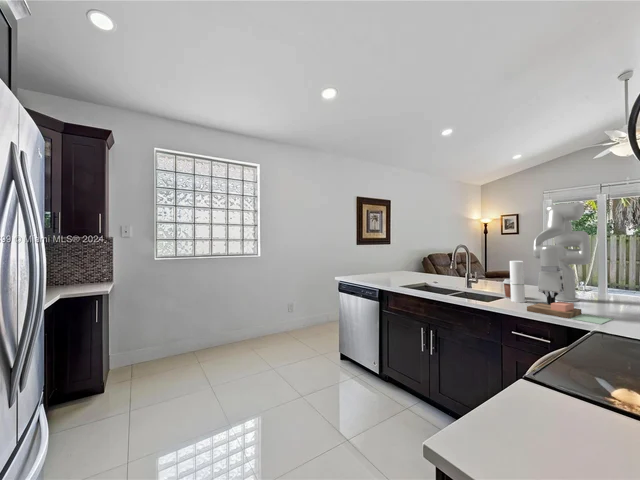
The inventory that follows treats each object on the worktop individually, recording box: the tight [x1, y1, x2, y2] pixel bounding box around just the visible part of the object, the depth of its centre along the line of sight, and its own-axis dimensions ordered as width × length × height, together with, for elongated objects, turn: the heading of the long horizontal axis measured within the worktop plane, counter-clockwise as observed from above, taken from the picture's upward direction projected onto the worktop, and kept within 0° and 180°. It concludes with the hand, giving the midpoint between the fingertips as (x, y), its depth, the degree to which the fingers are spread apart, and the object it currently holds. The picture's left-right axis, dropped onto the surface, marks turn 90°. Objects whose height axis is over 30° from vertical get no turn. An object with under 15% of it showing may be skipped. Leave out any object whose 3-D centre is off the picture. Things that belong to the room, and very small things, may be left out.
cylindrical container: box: [509, 260, 526, 304], centre depth 175 cm, size 7×7×25 cm
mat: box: [569, 313, 615, 325], centre depth 134 cm, size 15×11×1 cm
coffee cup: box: [502, 278, 511, 300], centre depth 185 cm, size 9×9×12 cm
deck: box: [526, 302, 583, 320], centre depth 147 cm, size 14×18×2 cm
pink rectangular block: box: [551, 300, 575, 312], centre depth 143 cm, size 9×6×3 cm, turn 118°
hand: (551, 304), depth 147 cm, fingers closed
